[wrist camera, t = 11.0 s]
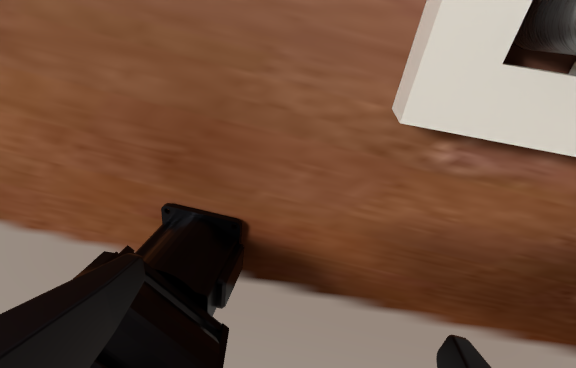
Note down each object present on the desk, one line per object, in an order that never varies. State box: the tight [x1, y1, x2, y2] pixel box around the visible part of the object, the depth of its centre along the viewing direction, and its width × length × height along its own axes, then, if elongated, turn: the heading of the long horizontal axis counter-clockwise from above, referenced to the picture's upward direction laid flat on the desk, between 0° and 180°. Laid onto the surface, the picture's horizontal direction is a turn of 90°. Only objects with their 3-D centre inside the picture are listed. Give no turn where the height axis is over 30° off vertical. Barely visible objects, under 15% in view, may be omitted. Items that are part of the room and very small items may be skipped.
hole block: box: [392, 0, 576, 157], centre depth 12 cm, size 11×11×3 cm
